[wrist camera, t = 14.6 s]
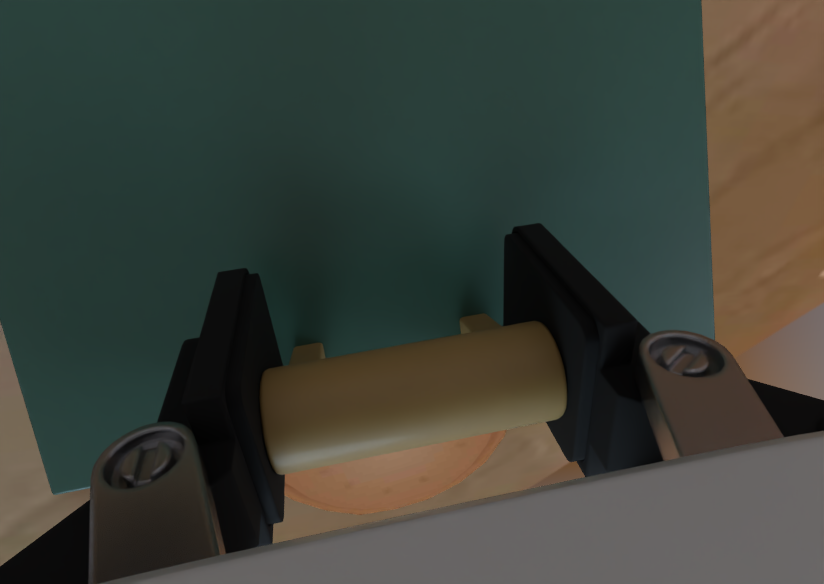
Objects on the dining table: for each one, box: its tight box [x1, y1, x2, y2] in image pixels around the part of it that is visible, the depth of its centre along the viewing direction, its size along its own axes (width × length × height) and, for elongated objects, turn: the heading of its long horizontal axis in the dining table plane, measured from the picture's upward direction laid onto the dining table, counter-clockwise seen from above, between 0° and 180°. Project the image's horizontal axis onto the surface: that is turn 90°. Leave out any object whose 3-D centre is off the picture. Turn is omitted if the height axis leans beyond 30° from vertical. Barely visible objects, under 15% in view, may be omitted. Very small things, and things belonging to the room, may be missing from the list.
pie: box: [284, 430, 506, 515], centre depth 30 cm, size 15×16×5 cm
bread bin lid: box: [0, 0, 715, 495], centre depth 10 cm, size 15×17×5 cm
